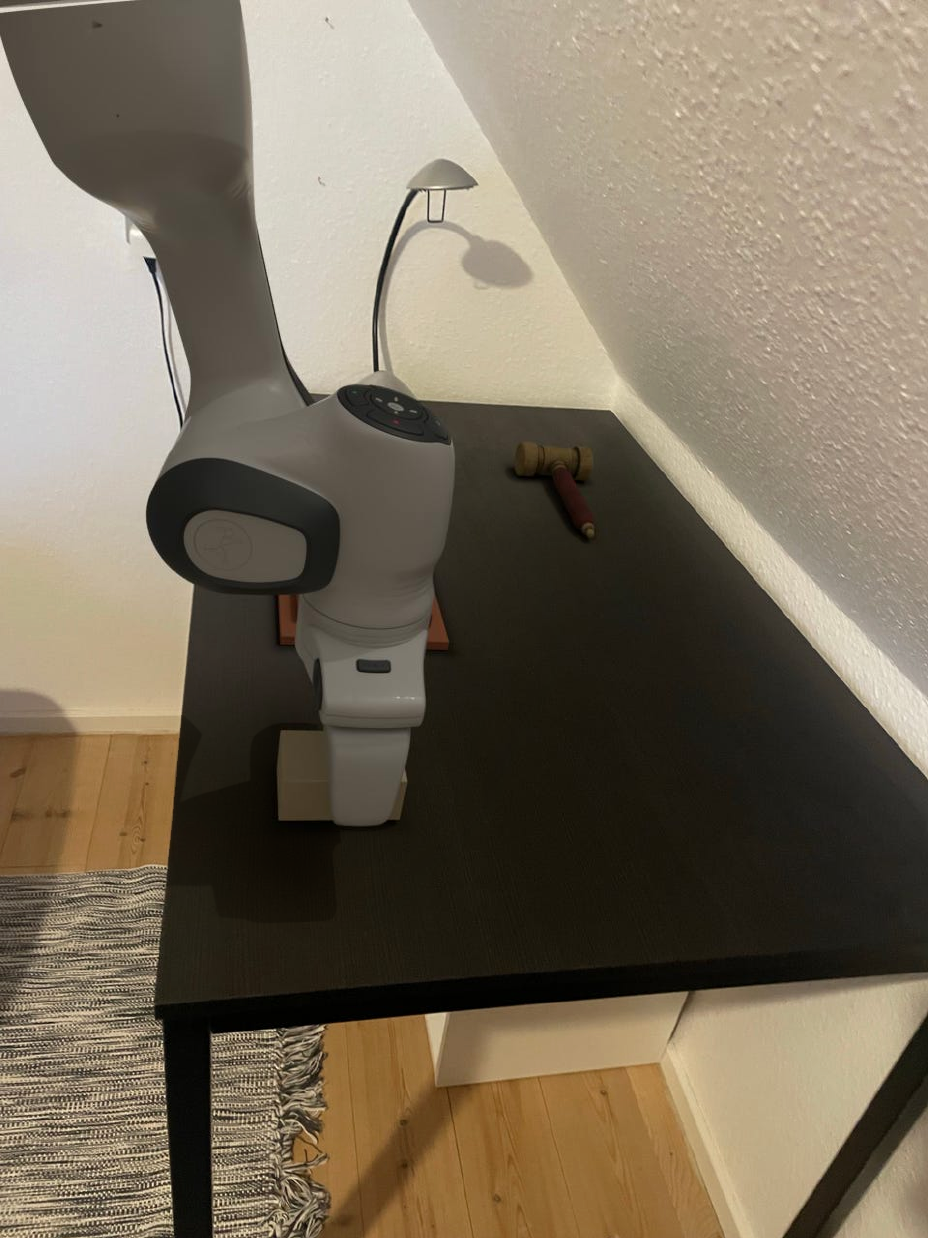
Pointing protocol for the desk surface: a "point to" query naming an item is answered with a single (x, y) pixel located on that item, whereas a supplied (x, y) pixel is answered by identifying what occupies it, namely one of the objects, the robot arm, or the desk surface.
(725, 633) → the desk surface
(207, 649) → the desk surface
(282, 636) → the base pad
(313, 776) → the top pad
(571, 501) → the gavel
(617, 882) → the desk surface
